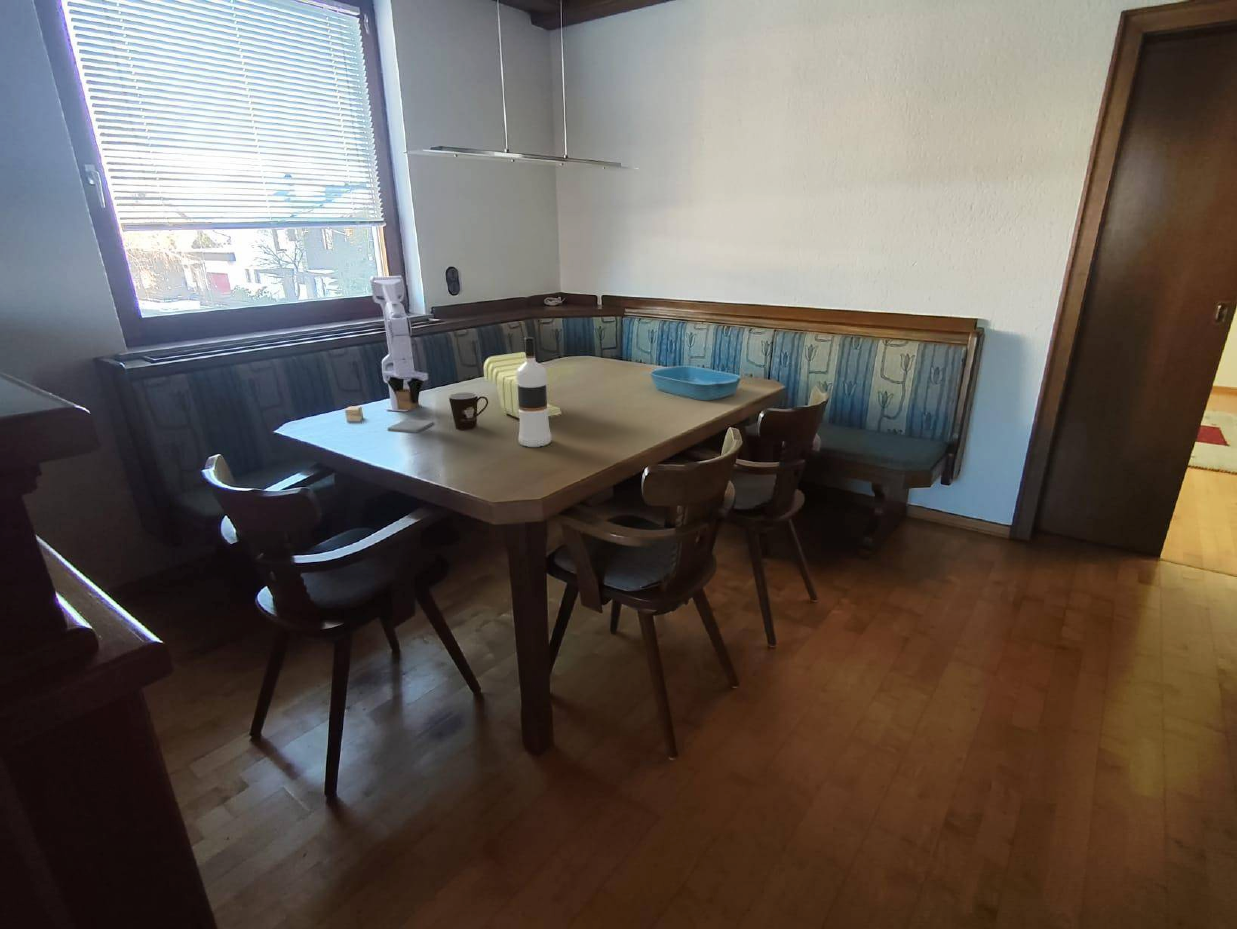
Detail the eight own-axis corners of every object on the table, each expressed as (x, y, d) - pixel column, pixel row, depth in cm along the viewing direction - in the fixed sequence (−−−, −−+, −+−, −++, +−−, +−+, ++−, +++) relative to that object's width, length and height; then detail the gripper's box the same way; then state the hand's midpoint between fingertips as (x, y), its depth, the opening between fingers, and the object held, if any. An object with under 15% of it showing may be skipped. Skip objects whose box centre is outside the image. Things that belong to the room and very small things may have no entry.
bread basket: (486, 409, 221) (482, 357, 215) (527, 402, 230) (524, 351, 224) (534, 428, 199) (530, 371, 193) (576, 419, 208) (574, 364, 202)
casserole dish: (639, 388, 249) (639, 370, 247) (681, 380, 262) (681, 362, 260) (709, 406, 222) (710, 386, 220) (752, 396, 235) (753, 376, 233)
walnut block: (406, 405, 202) (404, 388, 201) (419, 406, 201) (416, 389, 199) (397, 409, 198) (395, 391, 197) (410, 410, 197) (408, 392, 195)
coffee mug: (451, 432, 197) (447, 399, 193) (452, 424, 205) (449, 393, 201) (490, 429, 199) (487, 397, 195) (489, 421, 207) (487, 391, 203)
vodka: (518, 448, 181) (510, 340, 171) (519, 438, 189) (512, 335, 179) (551, 447, 182) (546, 339, 171) (551, 437, 190) (546, 334, 180)
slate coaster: (406, 421, 208) (406, 419, 208) (434, 423, 205) (433, 421, 205) (387, 430, 199) (387, 427, 199) (416, 432, 196) (415, 430, 196)
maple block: (350, 418, 213) (349, 406, 212) (363, 418, 213) (361, 406, 212) (346, 421, 209) (344, 409, 208) (359, 421, 209) (357, 409, 208)
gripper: (373, 359, 193) (379, 403, 198) (416, 361, 189) (421, 406, 194) (388, 355, 200) (393, 398, 204) (429, 357, 196) (434, 401, 200)
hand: (408, 402), depth 199 cm, fingers closed on walnut block, 4 cm apart
